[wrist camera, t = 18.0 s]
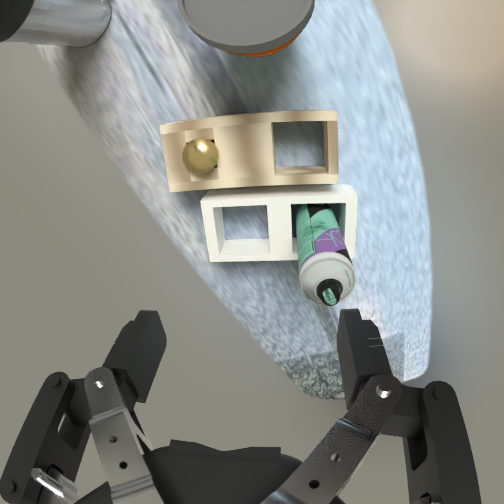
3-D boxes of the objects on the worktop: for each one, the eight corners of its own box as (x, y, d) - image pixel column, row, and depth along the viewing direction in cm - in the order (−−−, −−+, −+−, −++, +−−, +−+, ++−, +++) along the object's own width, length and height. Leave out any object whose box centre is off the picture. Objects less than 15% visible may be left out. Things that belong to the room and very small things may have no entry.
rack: (217, 245, 48) (210, 261, 43) (209, 190, 43) (200, 200, 39) (347, 242, 45) (353, 258, 40) (350, 184, 41) (357, 195, 36)
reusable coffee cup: (203, 0, 30) (163, -40, 17) (293, -20, 28) (296, -71, 15) (223, 77, 36) (189, 65, 22) (316, 59, 33) (333, 36, 20)
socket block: (181, 182, 43) (169, 192, 39) (173, 122, 39) (159, 125, 35) (332, 174, 40) (338, 183, 36) (330, 110, 36) (336, 111, 32)
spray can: (319, 239, 45) (336, 330, 28) (288, 221, 44) (288, 307, 27) (340, 209, 43) (373, 289, 25) (308, 190, 42) (323, 260, 24)
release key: (196, 166, 41) (184, 175, 37) (193, 135, 39) (180, 140, 35) (227, 163, 41) (219, 172, 36) (224, 132, 39) (215, 136, 34)
